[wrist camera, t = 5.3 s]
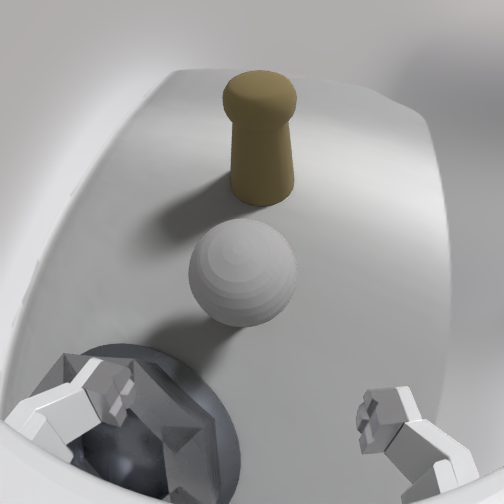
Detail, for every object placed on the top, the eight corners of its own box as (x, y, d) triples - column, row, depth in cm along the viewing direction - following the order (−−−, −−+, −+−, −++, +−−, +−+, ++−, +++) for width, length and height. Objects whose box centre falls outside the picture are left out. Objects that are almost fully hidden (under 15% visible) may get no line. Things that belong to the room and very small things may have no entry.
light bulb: (202, 327, 20) (153, 282, 11) (231, 264, 23) (210, 184, 14) (270, 355, 19) (275, 333, 10) (297, 288, 21) (318, 218, 12)
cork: (220, 196, 26) (197, 96, 16) (243, 152, 28) (234, 58, 18) (283, 214, 24) (291, 110, 15) (301, 166, 27) (312, 68, 17)
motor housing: (249, 538, 13) (245, 568, 8) (66, 504, 13) (38, 515, 9) (231, 342, 20) (223, 332, 16) (51, 339, 20) (18, 328, 16)
